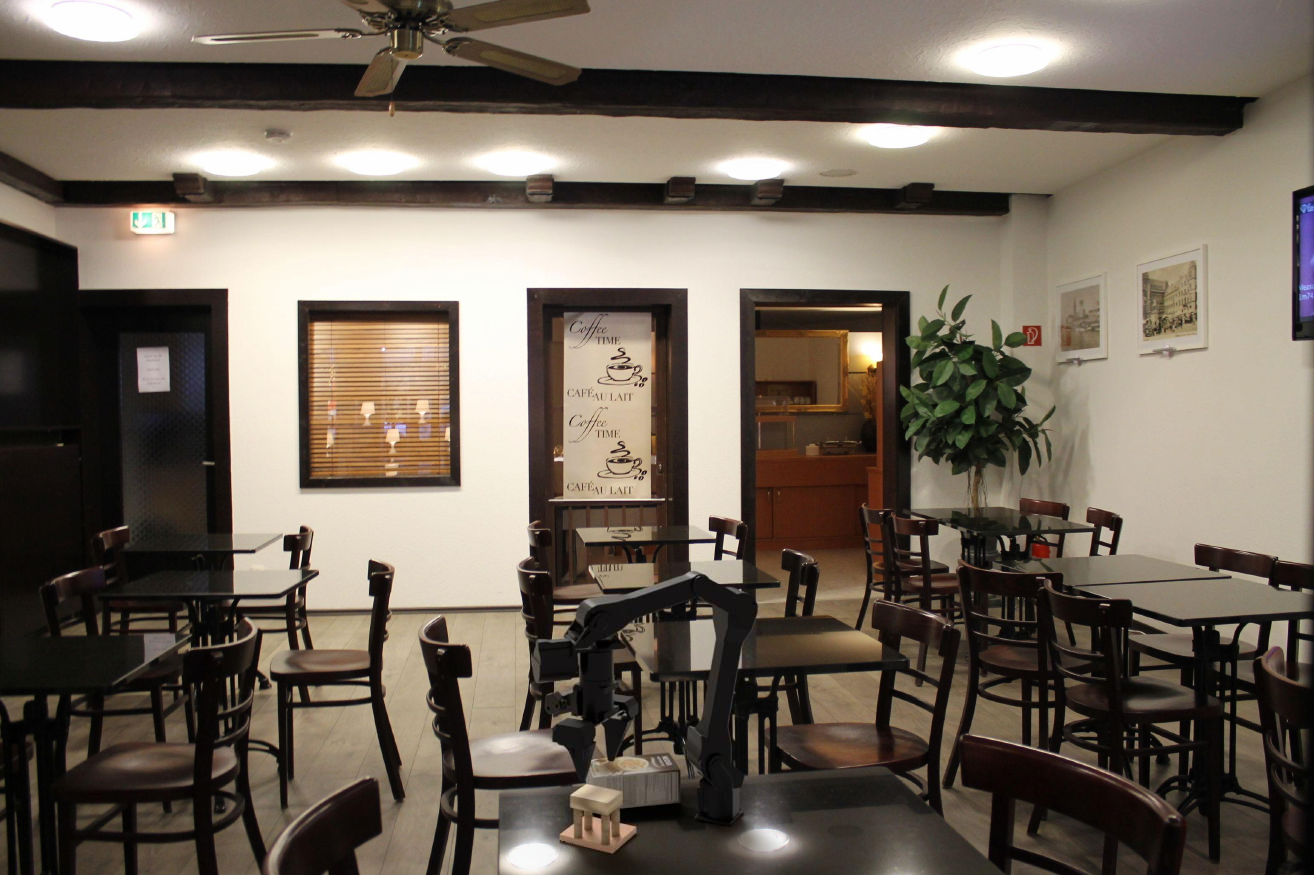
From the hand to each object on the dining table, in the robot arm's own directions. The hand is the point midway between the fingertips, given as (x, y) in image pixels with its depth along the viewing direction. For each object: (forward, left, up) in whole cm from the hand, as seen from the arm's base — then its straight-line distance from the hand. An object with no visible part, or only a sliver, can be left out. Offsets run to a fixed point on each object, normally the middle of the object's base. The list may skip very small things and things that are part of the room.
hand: (597, 770), depth 147 cm
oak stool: (-1, +2, -10) cm, 10 cm away
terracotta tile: (0, 0, -11) cm, 11 cm away
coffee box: (+8, -11, -8) cm, 16 cm away
